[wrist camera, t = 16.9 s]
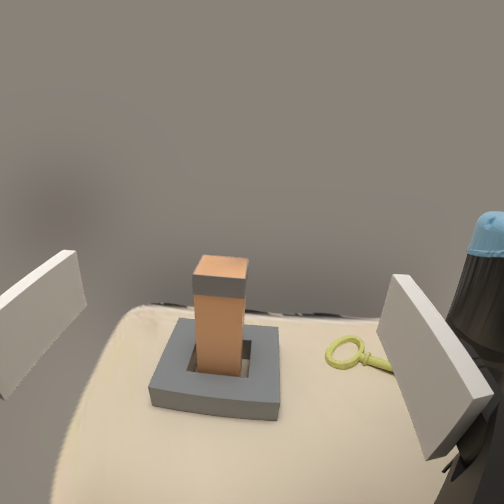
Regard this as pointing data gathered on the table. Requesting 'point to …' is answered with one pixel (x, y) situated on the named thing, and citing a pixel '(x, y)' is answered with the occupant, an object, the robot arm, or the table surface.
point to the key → (358, 357)
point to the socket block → (219, 377)
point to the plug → (220, 313)
